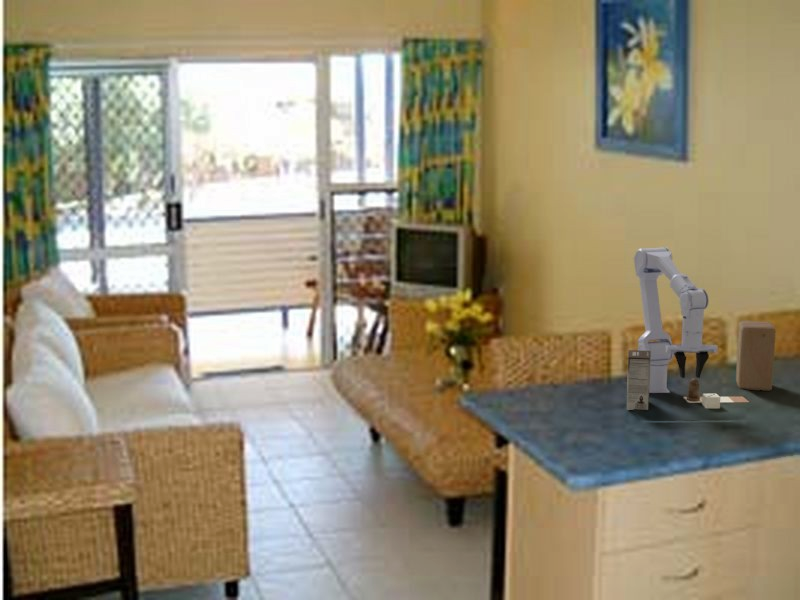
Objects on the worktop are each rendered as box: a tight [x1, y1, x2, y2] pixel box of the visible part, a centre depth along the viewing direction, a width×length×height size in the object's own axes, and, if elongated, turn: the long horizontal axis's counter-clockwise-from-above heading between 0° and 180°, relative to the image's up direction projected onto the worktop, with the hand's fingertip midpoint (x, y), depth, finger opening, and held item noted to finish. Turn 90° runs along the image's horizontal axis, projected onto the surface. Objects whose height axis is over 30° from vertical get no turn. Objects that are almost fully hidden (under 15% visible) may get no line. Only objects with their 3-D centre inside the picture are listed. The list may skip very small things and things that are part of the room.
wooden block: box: [735, 320, 777, 392], centre depth 348 cm, size 10×10×20 cm
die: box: [701, 392, 721, 409], centre depth 326 cm, size 4×4×4 cm
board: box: [683, 396, 750, 404], centre depth 334 cm, size 18×6×1 cm, turn 91°
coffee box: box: [626, 349, 651, 411], centre depth 327 cm, size 9×6×16 cm
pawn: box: [686, 377, 701, 401], centre depth 333 cm, size 4×4×6 cm
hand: (690, 377), depth 325 cm, fingers open, 4 cm apart
